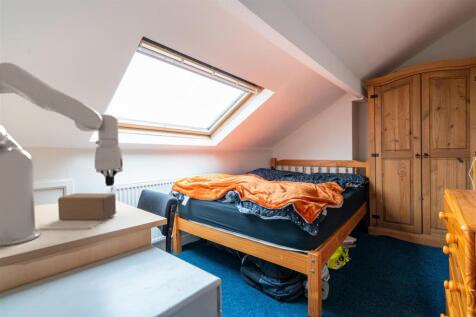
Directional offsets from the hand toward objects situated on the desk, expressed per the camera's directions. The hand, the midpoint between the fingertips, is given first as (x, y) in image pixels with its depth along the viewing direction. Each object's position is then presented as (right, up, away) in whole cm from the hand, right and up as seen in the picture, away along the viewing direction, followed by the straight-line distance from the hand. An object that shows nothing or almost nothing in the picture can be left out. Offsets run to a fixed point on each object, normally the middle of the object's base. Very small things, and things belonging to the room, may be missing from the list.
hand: (109, 185), depth 101 cm
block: (0, -9, +1) cm, 10 cm away
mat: (-12, -15, 0) cm, 19 cm away
